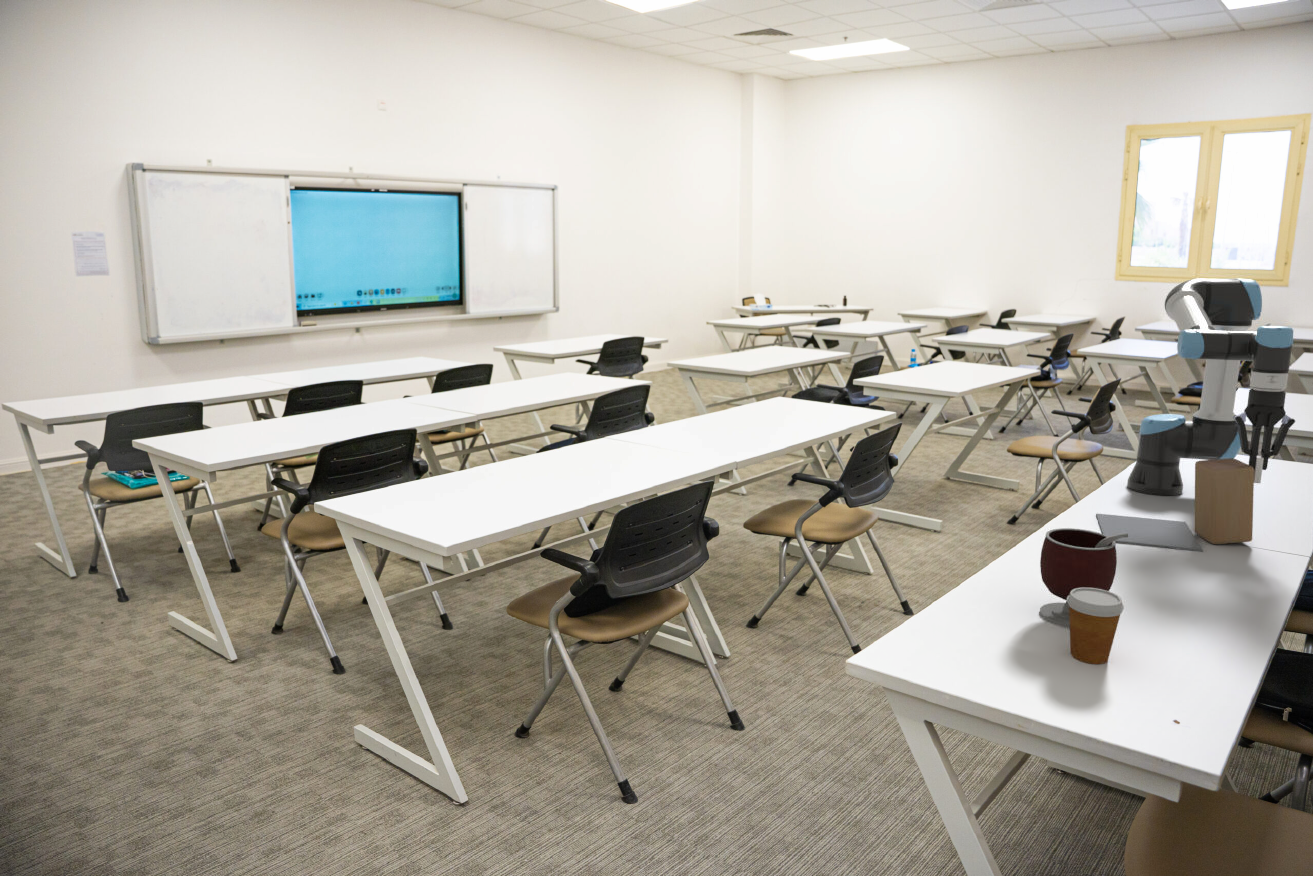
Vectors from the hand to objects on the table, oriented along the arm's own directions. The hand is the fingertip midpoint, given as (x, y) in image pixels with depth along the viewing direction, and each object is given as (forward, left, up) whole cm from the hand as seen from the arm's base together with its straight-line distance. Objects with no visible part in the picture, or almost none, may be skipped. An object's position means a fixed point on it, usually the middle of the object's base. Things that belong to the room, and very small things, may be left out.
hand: (1255, 481), depth 223 cm
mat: (-1, -23, -16) cm, 28 cm away
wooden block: (-1, -5, -16) cm, 17 cm away
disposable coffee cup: (+84, -43, -16) cm, 96 cm away
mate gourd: (+66, -44, -16) cm, 81 cm away
